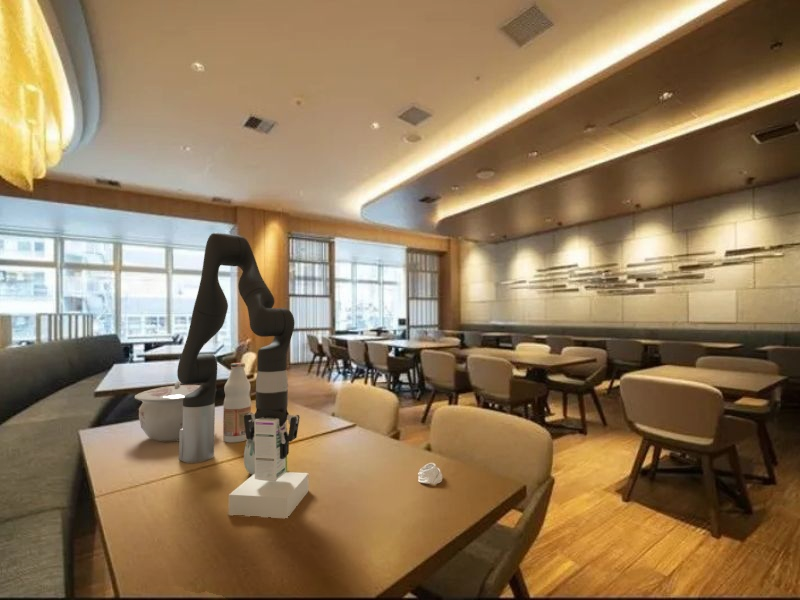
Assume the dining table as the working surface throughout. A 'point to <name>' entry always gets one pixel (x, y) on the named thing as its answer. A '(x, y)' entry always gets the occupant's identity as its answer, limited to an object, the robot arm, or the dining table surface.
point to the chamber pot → (163, 411)
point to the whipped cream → (430, 474)
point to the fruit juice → (236, 404)
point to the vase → (249, 456)
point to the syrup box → (268, 450)
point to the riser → (269, 496)
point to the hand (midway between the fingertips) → (271, 456)
